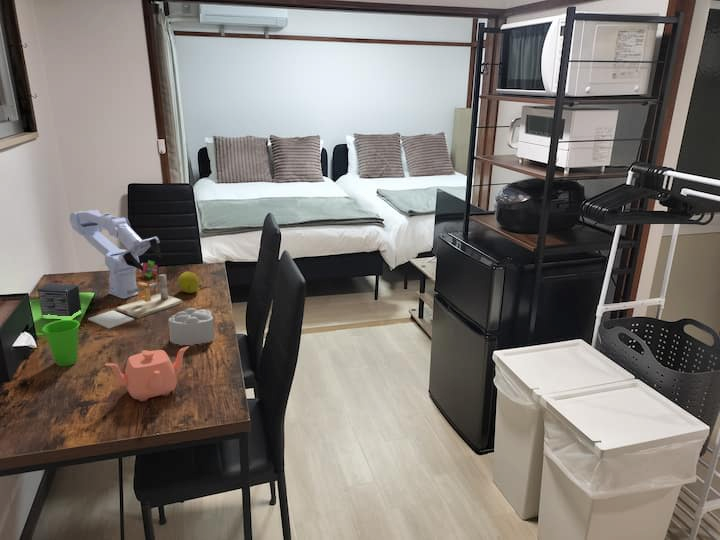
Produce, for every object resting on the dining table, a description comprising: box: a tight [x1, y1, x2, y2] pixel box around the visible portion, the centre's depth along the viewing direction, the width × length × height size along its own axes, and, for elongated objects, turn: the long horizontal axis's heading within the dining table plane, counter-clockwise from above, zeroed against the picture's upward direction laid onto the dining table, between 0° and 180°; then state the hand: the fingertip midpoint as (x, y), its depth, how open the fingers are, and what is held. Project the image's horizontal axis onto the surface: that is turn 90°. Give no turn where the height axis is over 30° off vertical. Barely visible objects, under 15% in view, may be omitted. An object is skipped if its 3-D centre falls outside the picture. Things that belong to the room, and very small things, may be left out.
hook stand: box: [116, 274, 183, 319], centre depth 184 cm, size 12×18×10 cm, turn 146°
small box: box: [37, 283, 82, 316], centre depth 174 cm, size 11×6×10 cm, turn 84°
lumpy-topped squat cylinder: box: [167, 307, 215, 346], centre depth 162 cm, size 10×13×9 cm
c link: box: [136, 281, 152, 302], centre depth 182 cm, size 5×2×6 cm, turn 57°
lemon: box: [177, 271, 200, 294], centre depth 199 cm, size 11×8×8 cm
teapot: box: [104, 346, 190, 402], centre depth 132 cm, size 14×14×11 cm
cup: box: [41, 319, 81, 367], centre depth 144 cm, size 9×9×11 cm
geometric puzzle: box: [138, 259, 159, 279], centre depth 215 cm, size 7×7×8 cm
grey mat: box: [87, 309, 135, 329], centre depth 174 cm, size 12×9×1 cm
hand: (152, 262), depth 179 cm, fingers open, 7 cm apart
